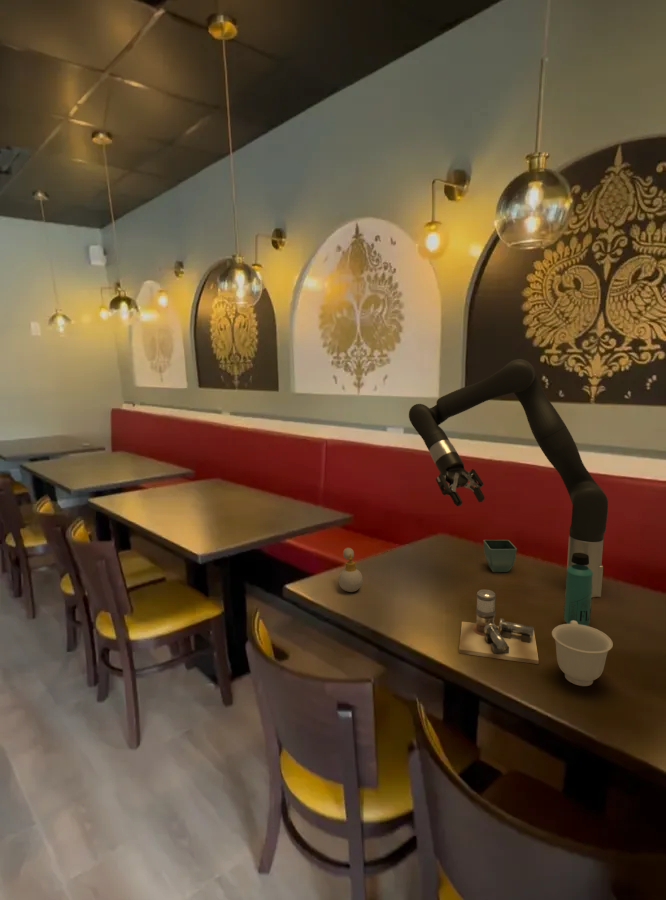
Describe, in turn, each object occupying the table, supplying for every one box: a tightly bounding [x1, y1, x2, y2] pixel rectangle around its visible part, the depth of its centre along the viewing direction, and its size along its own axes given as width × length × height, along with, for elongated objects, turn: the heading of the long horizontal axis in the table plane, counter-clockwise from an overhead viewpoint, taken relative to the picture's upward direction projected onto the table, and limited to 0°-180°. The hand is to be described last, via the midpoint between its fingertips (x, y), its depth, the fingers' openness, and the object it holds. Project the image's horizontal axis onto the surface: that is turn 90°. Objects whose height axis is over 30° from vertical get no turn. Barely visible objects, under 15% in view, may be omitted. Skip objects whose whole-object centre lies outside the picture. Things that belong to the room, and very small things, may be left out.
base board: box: [458, 621, 539, 665], centre depth 130 cm, size 18×14×1 cm
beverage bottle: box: [563, 553, 593, 626], centre depth 136 cm, size 6×7×20 cm
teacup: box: [551, 620, 614, 687], centre depth 116 cm, size 12×15×10 cm
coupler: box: [475, 588, 497, 634], centre depth 134 cm, size 5×5×10 cm
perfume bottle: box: [338, 547, 364, 593], centre depth 162 cm, size 8×10×12 cm
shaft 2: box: [498, 617, 535, 643], centre depth 131 cm, size 8×4×4 cm, turn 63°
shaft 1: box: [484, 622, 509, 654], centre depth 127 cm, size 8×4×4 cm, turn 3°
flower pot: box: [483, 539, 518, 573], centre depth 175 cm, size 9×9×9 cm
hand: (471, 502), depth 152 cm, fingers open, 8 cm apart
